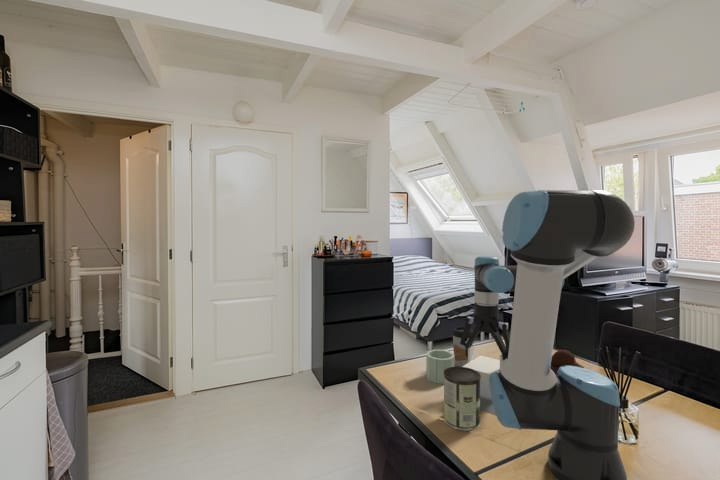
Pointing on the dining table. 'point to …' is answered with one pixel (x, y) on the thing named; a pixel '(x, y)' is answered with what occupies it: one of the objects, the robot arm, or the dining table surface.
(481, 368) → the lid
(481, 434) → the dining table surface
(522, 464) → the dining table surface
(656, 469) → the dining table surface
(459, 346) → the coffee cup
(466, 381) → the coffee can
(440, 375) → the ribbed green pot
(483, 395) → the mat
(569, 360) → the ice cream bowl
